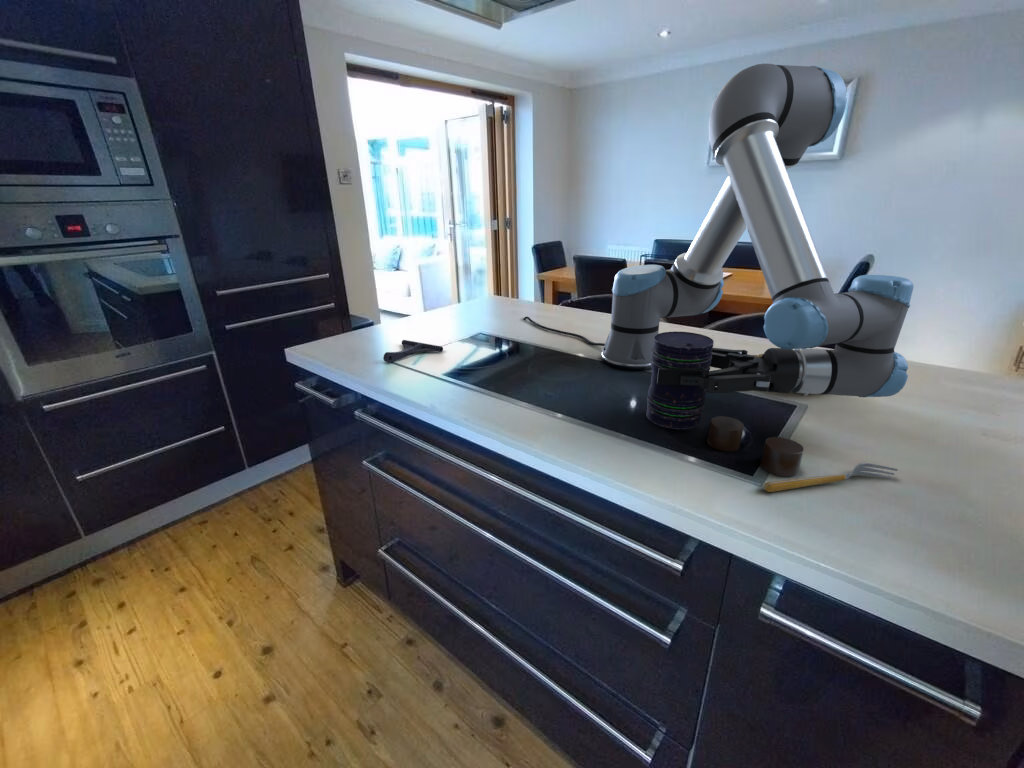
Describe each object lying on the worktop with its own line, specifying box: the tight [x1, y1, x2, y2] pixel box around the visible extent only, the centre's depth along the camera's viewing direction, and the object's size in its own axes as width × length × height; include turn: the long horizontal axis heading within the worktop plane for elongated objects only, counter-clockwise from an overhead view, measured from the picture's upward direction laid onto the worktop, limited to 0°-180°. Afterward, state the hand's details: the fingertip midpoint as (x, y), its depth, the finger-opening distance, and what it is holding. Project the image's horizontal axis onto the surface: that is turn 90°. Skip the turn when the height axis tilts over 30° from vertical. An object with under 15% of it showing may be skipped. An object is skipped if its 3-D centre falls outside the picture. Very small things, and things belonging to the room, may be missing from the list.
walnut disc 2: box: [760, 436, 805, 478], centre depth 67 cm, size 5×5×4 cm
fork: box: [763, 462, 899, 493], centre depth 63 cm, size 2×2×20 cm
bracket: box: [383, 339, 444, 364], centre depth 121 cm, size 14×15×3 cm
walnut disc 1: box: [706, 415, 745, 453], centre depth 74 cm, size 5×5×4 cm
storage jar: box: [645, 331, 715, 430], centre depth 78 cm, size 10×10×15 cm
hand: (654, 365), depth 78 cm, fingers closed on storage jar, 10 cm apart
